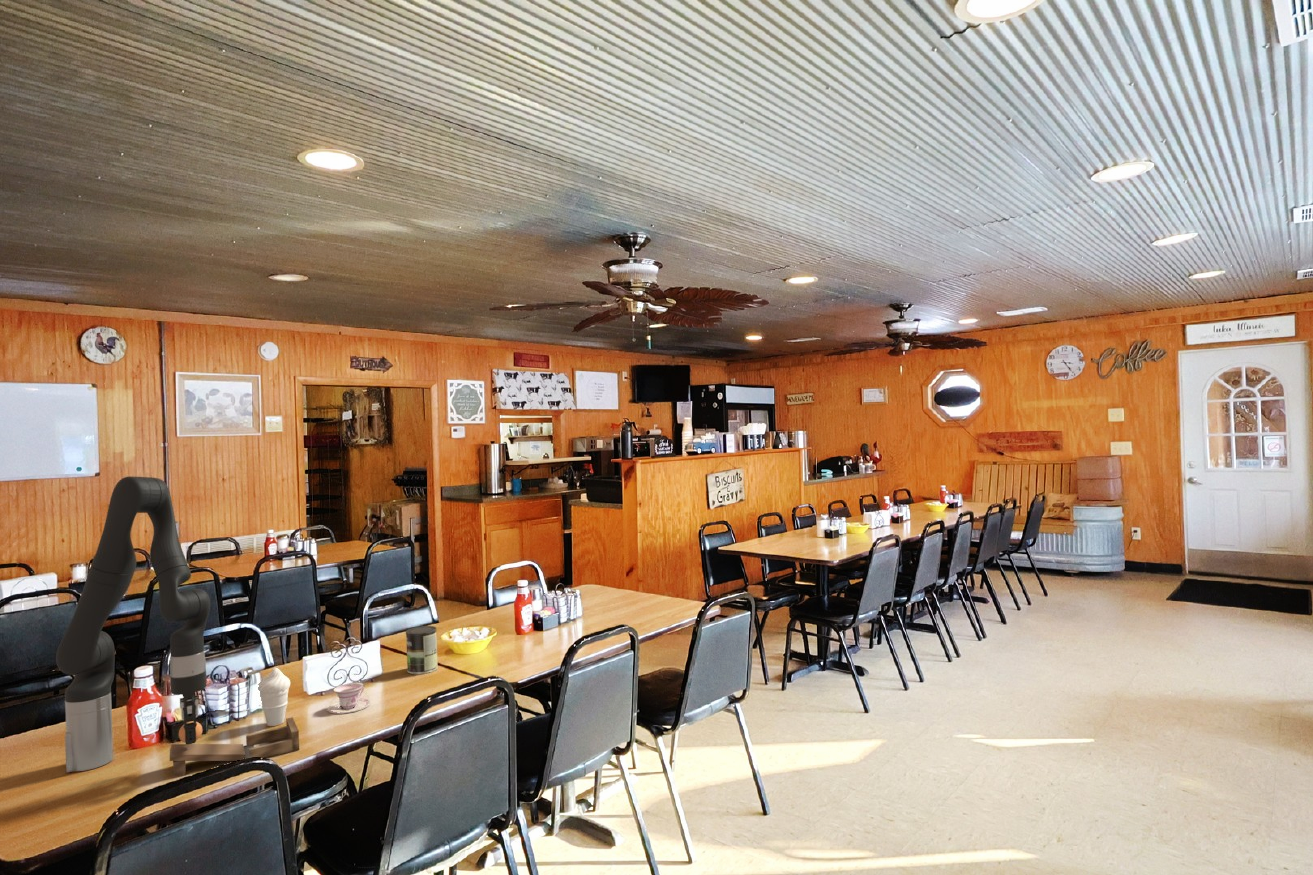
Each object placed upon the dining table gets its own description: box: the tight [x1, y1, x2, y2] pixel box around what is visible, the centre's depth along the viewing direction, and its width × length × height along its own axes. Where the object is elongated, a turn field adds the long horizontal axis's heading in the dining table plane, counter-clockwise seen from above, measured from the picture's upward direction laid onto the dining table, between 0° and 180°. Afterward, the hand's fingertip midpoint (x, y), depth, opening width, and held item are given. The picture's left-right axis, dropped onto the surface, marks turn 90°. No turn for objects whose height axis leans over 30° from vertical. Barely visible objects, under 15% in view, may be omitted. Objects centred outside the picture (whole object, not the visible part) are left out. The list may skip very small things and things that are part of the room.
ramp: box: [169, 743, 246, 778], centre depth 183 cm, size 16×8×6 cm, turn 123°
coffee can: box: [405, 625, 439, 675], centre depth 254 cm, size 10×10×14 cm
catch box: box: [243, 716, 300, 759], centre depth 190 cm, size 12×12×5 cm
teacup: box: [327, 682, 371, 715], centre depth 219 cm, size 12×12×6 cm
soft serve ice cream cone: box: [258, 667, 291, 727], centre depth 208 cm, size 8×8×16 cm
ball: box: [178, 720, 203, 743], centre depth 181 cm, size 5×5×5 cm
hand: (190, 739), depth 181 cm, fingers closed on ball, 5 cm apart
